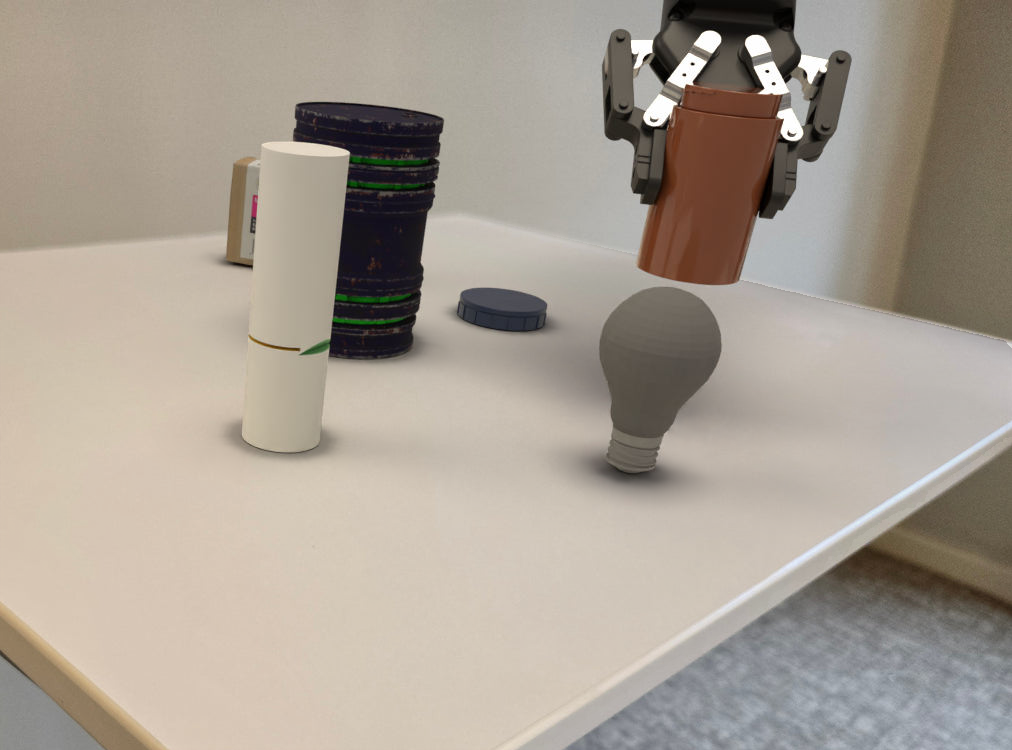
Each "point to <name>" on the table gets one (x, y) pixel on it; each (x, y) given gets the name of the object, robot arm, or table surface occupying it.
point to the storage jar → (378, 219)
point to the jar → (711, 183)
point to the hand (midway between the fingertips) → (710, 202)
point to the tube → (293, 293)
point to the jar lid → (502, 309)
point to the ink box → (243, 211)
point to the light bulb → (654, 368)
